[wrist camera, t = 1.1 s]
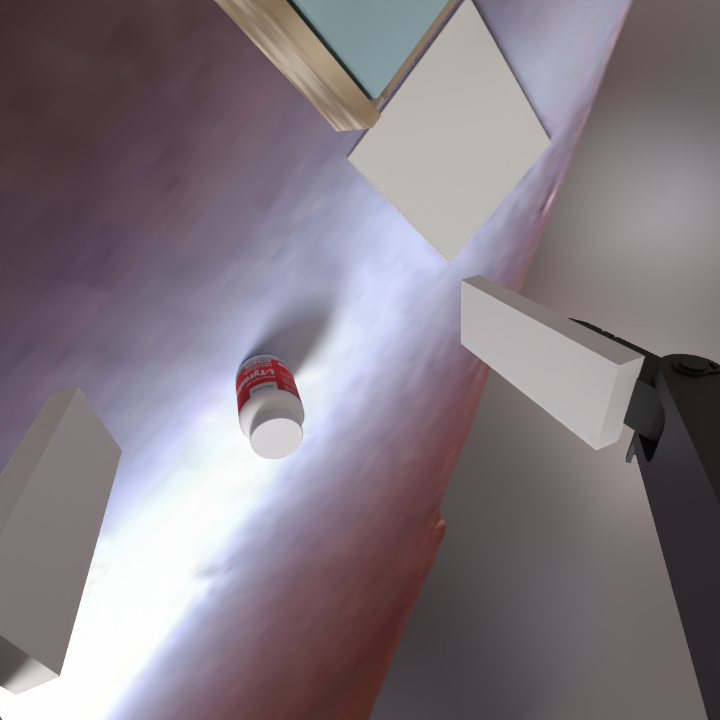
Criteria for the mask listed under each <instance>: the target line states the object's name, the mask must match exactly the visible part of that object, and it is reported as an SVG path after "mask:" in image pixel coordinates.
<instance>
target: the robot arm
mask: <svg viewBox="0 0 720 720" xmlns="http://www.w3.org/2000/svg"><path fill="white" fill-rule="evenodd" d="M461 344H463V345H464V346H465V347H466V348H468V349H469V350H470V351H471V352H473V353H474V354H475V355H476V356H478V357H479V358H480V359H482V360H483V361H484V362H485V363H487V364H488V365H489V366H490V367H492V368H493V369H494V370H495V371H497V372H498V373H499V374H500V375H502V376H503V377H504V378H506V379H507V380H508V381H509V382H511V383H512V384H513V385H514V386H516V387H517V388H518V389H519V390H521V391H522V392H523V393H524V394H526V395H527V396H528V397H530V398H531V399H532V400H533V401H535V402H536V403H537V404H538V405H540V406H541V407H542V408H543V409H545V410H546V411H547V412H549V413H550V414H551V415H552V416H554V417H555V418H556V419H557V420H559V421H560V422H561V423H562V424H564V425H565V426H566V427H567V428H569V429H570V430H571V431H572V432H574V433H575V434H576V435H578V436H579V437H580V438H581V439H583V440H584V441H585V442H586V443H588V444H589V445H590V446H591V447H593V448H594V449H595V450H598V449H600V448H602V447H605V446H607V445H609V444H612V443H614V442H616V441H618V440H619V437H620V434H621V431H622V427H623V424H626V425H628V426H629V427H630V428H632V429H633V430H635V432H634V435H633V438H632V441H631V444H630V447H629V449H628V452H627V456H626V462H628V463H631V460H632V457H633V455H635V454H636V457H637V460H638V464H639V467H640V471H641V475H642V479H643V482H644V486H645V490H646V493H647V497H648V501H649V504H650V508H651V512H652V515H653V519H654V522H655V526H656V530H657V534H658V537H659V541H660V544H661V548H662V552H663V556H664V559H665V563H666V567H667V570H668V574H669V577H670V581H671V585H672V588H673V592H674V596H675V600H676V603H677V607H678V611H679V614H680V618H681V621H682V625H683V629H684V632H685V636H686V640H687V644H688V648H689V651H690V655H691V659H692V662H693V666H694V670H695V673H696V677H697V680H698V684H699V688H700V692H701V695H702V699H703V703H704V706H705V710H706V714H707V717H708V720H720V365H719V364H717V363H715V362H713V361H711V360H709V359H706V358H702V357H699V356H695V355H688V354H671V355H667V356H664V357H662V358H661V357H659V356H657V355H654V354H653V353H650V352H648V351H646V350H644V349H642V348H640V347H638V346H636V345H634V344H631V343H629V342H627V341H625V340H623V339H621V338H619V337H616V338H615V336H614V335H613V334H610V333H608V332H606V331H602V329H600V328H598V327H596V326H594V325H591V324H589V323H587V322H583V321H579V320H575V319H571V318H566V317H564V316H562V315H559V314H558V313H556V312H554V311H552V310H549V309H547V308H546V307H544V306H541V305H539V304H537V303H535V302H533V301H531V300H529V299H527V298H525V297H523V296H521V295H519V294H517V293H515V292H513V291H511V290H509V289H507V288H505V287H503V286H501V285H499V284H497V283H494V282H492V281H490V280H488V279H486V278H484V277H482V276H480V275H477V276H474V277H470V278H467V279H463V280H461ZM121 452H122V451H121V449H120V448H119V446H118V445H117V443H116V442H115V440H114V439H113V437H112V436H111V434H110V433H109V431H108V430H107V429H106V427H105V426H104V424H103V423H102V421H101V420H100V418H99V417H98V415H97V414H96V412H95V411H94V409H93V408H92V406H91V405H90V403H89V402H88V400H87V399H86V397H85V396H84V394H83V393H82V391H81V390H80V388H79V387H75V388H72V389H68V390H65V391H61V392H57V393H54V394H50V396H49V397H48V399H47V401H46V402H45V404H44V405H43V407H42V409H41V410H40V412H39V414H38V415H37V417H36V418H35V420H34V422H33V423H32V425H31V426H30V428H29V430H28V431H27V433H26V434H25V436H24V438H23V439H22V441H21V442H20V444H19V446H18V447H17V449H16V451H15V452H14V454H13V455H12V457H11V459H10V460H9V462H8V463H7V465H6V467H5V468H4V470H3V471H2V473H1V475H0V686H2V687H3V688H5V689H7V690H9V691H10V692H12V693H14V694H15V695H16V694H19V693H21V692H23V691H26V690H28V689H31V688H33V687H35V686H38V685H40V684H42V683H45V682H47V681H50V680H52V679H54V678H57V677H59V676H60V673H61V669H62V666H63V662H64V659H65V655H66V651H67V648H68V644H69V641H70V637H71V633H72V630H73V626H74V622H75V619H76V615H77V612H78V608H79V604H80V601H81V597H82V593H83V590H84V586H85V583H86V579H87V575H88V572H89V568H90V564H91V561H92V557H93V554H94V550H95V546H96V543H97V539H98V536H99V532H100V528H101V525H102V521H103V517H104V514H105V510H106V507H107V503H108V499H109V496H110V492H111V488H112V485H113V481H114V478H115V474H116V470H117V467H118V463H119V459H120V456H121ZM0 720H2V719H1V717H0Z"/></svg>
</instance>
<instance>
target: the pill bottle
mask: <svg viewBox="0 0 720 720" xmlns="http://www.w3.org/2000/svg"><path fill="white" fill-rule="evenodd" d="M236 393H237V404H238V414H239V423H240V428H241V430H242V432H243V434H244V435H245V436H246V437H247V438H248V439H249V440H250V443H251V447H252V449H253V450H254V452H255V453H256V454H258V455H259V456H261V457H264V458H268V459H277V458H282V457H285V456H287V455H289V454H291V453H292V452H294V451H295V450H296V449H297V448H298V447H299V445H300V444H301V442H302V439H303V430H302V427H301V426H302V424H303V421H304V409H303V405H302V402H301V399H300V396H299V393H298V390H297V387H296V384H295V381H294V378H293V375H292V373H291V370H290V368H289V366H288V365H287V363H286V362H285V361H283V360H282V359H281V358H279V357H277V356H274V355H269V354H264V355H257V356H254V357H252V358H250V359H248V360H247V361H245V362H244V363H243V364H242V365H241V366H240V368H239V370H238V372H237V374H236Z"/></svg>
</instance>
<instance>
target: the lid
mask: <svg viewBox="0 0 720 720" xmlns="http://www.w3.org/2000/svg"><path fill="white" fill-rule="evenodd" d="M286 1H287V2H288V3H289V4H290V6H291V7H292V8H293V9H294V10H295V12H296V13H297V14H298V15H299V17H300V18H301V19H302V20H303V21H304V23H305V24H306V25H307V26H308V27H309V29H310V30H311V31H312V32H313V33H314V35H315V36H316V37H317V38H318V39H319V41H320V42H321V43H322V44H323V45H324V47H325V48H326V49H327V50H328V51H329V53H330V54H331V55H332V56H333V57H334V59H335V60H336V61H337V62H338V63H339V65H340V66H341V67H342V68H343V70H344V71H345V72H346V73H347V74H348V76H349V77H350V78H351V79H352V80H353V82H354V83H355V84H356V85H357V86H358V88H359V89H360V90H361V91H362V92H363V94H364V95H365V96H366V97H367V98H368V100H371V99H375V98H378V97H379V95H380V94H381V93H382V91H383V90H384V88H385V87H386V86H387V84H388V83H389V82H390V80H391V79H392V78H393V76H394V75H395V73H396V72H397V71H398V69H399V68H400V67H401V65H402V64H403V62H404V61H405V60H406V58H407V57H408V56H409V54H410V53H411V52H412V50H413V49H414V47H415V46H416V45H417V43H418V42H419V41H420V39H421V38H422V37H423V35H424V34H425V32H426V31H427V30H428V28H429V27H430V26H431V24H432V23H433V21H434V20H435V19H436V17H437V16H438V15H439V13H440V12H441V11H442V9H443V8H444V6H445V5H446V4H447V2H448V1H449V0H286Z"/></svg>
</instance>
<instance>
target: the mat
mask: <svg viewBox="0 0 720 720" xmlns="http://www.w3.org/2000/svg"><path fill="white" fill-rule="evenodd" d="M380 114H381V115H382V116H381V117H380V119H379V120H378V121H377V123H376V124H375V125H374V127H373V128H368V129H367V130H366V132H365V133H364V134H363V136H362V137H361V138H360V140H359V141H358V143H357V144H356V145H355V147H354V148H353V149H352V151H351V152H350V153H349V155H348V156H347V157H346V158H347V159H348V160H349V161H350V162H351V163H352V164H353V165H354V166H355V168H356V169H357V170H358V171H359V172H360V173H361V174H362V175H363V176H364V177H365V178H366V179H367V180H368V181H369V182H370V183H371V184H372V185H373V186H374V187H375V188H376V189H377V190H378V191H379V192H380V193H381V194H382V195H383V197H384V198H385V199H386V200H387V201H388V202H389V203H390V204H391V205H392V206H393V207H394V208H395V209H396V210H397V211H398V212H399V213H400V214H401V215H402V216H403V217H404V218H405V219H406V220H407V221H408V222H409V223H410V225H411V226H412V227H413V228H414V229H415V230H416V231H417V232H418V233H419V234H420V235H421V236H422V237H423V238H424V239H425V240H426V241H427V242H428V243H429V244H430V245H431V246H432V247H433V248H434V249H435V250H436V251H437V253H438V254H439V255H440V256H441V257H442V258H443V259H444V260H445V261H446V262H447V263H449V264H450V262H451V261H452V260H453V259H454V258H455V256H456V255H457V254H458V253H459V252H460V251H461V249H462V248H463V247H464V246H465V245H466V243H467V242H468V241H469V240H470V239H471V238H472V236H473V235H474V234H475V233H476V232H477V230H478V229H479V228H480V227H481V226H482V225H483V223H484V222H485V221H486V220H487V219H488V217H489V216H490V215H491V214H492V213H493V212H494V210H495V209H496V208H497V207H498V206H499V204H500V203H501V202H502V201H503V200H504V198H505V197H506V196H507V195H508V194H509V193H510V191H511V190H512V189H513V188H514V187H515V185H516V184H517V183H518V182H519V181H520V180H521V178H522V177H523V176H524V175H525V174H526V172H527V171H528V170H529V169H530V168H531V167H532V165H533V164H534V163H535V162H536V161H537V159H538V158H539V157H540V156H541V155H542V154H543V152H544V151H545V150H546V149H547V148H548V146H549V145H550V144H551V142H550V140H549V138H548V136H547V134H546V133H545V131H544V129H543V127H542V125H541V124H540V122H539V120H538V118H537V117H536V115H535V113H534V111H533V109H532V108H531V106H530V104H529V102H528V100H527V99H526V97H525V95H524V93H523V92H522V90H521V88H520V86H519V84H518V83H517V81H516V79H515V77H514V75H513V74H512V72H511V70H510V68H509V67H508V65H507V63H506V61H505V59H504V58H503V56H502V54H501V52H500V50H499V49H498V47H497V45H496V43H495V42H494V40H493V38H492V36H491V34H490V33H489V31H488V29H487V27H486V25H485V24H484V22H483V20H482V18H481V16H480V15H479V13H478V11H477V9H476V8H475V6H474V4H473V2H472V0H462V2H461V3H460V4H459V6H458V7H457V8H456V10H455V11H454V12H453V14H452V15H451V17H450V18H449V19H448V21H447V22H446V23H445V25H444V26H443V27H442V29H441V30H440V31H439V33H438V34H437V36H436V37H435V38H434V40H433V41H432V42H431V44H430V45H429V46H428V48H427V49H426V50H425V52H424V53H423V54H422V56H421V57H420V59H419V60H418V61H417V63H416V64H415V65H414V67H413V68H412V69H411V71H410V72H409V73H408V75H407V76H406V78H405V79H404V80H403V82H402V83H401V84H400V86H399V87H398V88H397V90H396V91H395V92H394V94H393V95H392V96H391V98H390V99H389V101H388V102H387V103H386V105H385V106H384V107H383V109H382V110H381V111H380Z"/></svg>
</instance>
